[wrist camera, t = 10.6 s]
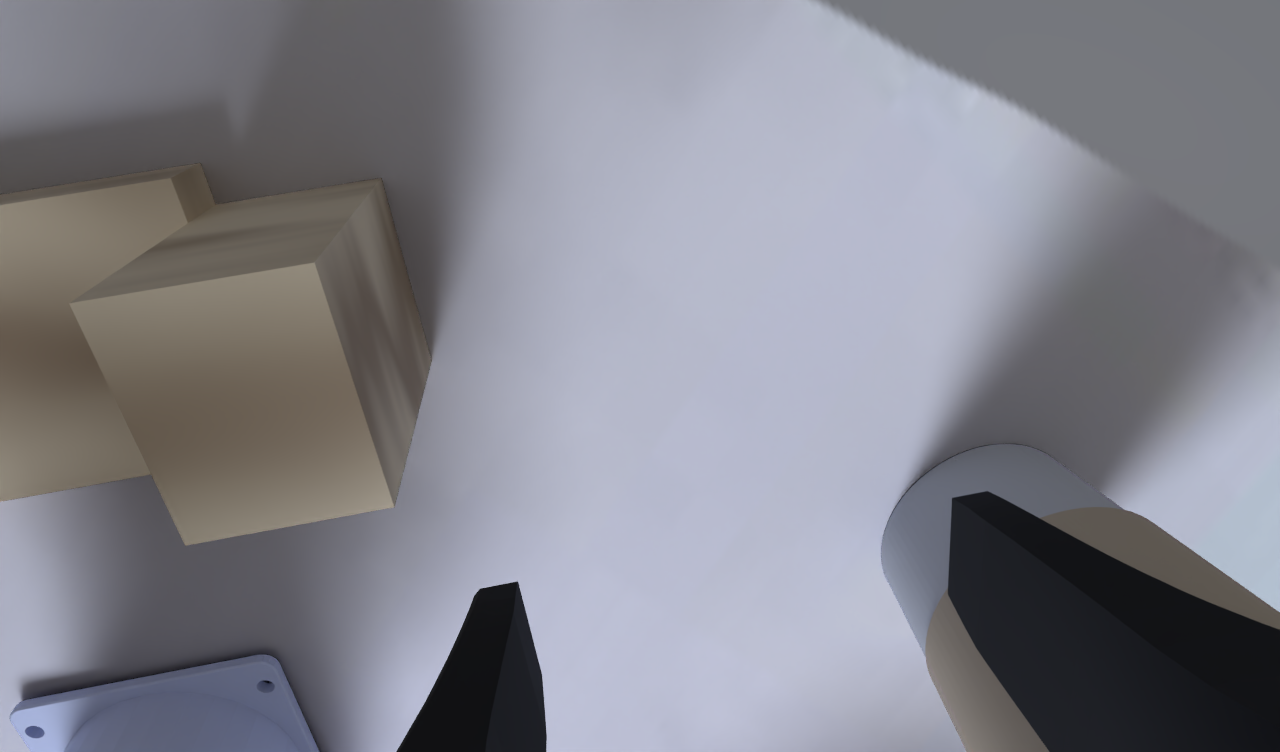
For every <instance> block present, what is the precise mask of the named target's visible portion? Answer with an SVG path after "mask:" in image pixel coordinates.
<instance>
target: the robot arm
mask: <svg viewBox="0 0 1280 752" xmlns="http://www.w3.org/2000/svg"><path fill="white" fill-rule="evenodd" d="M948 596H949V598H950V600H951V602H952V604H953V606H954V608H955V609H956V611H957V613H958V615H959V617H960V619H961V621H962V623H963V625H964V627H965V629H966V630H967V632H968V634H969V636H970V638H971V640H972V641H973V643H974V645H975V647H976V649H977V650H978V652H979V653H980V654H981V656H982V657H983V659H984V660H985V662H986V663H987V665H988V666H989V667H990V669H991V670H992V672H993V673H994V675H995V676H996V677H997V679H998V680H999V682H1000V683H1001V685H1002V686H1003V687H1004V689H1005V690H1006V692H1007V693H1008V694H1009V696H1010V697H1011V699H1012V700H1013V701H1014V703H1015V704H1016V706H1017V707H1018V708H1019V710H1020V711H1021V713H1022V714H1023V715H1024V717H1025V718H1026V720H1027V721H1028V722H1029V724H1030V725H1031V727H1032V728H1033V729H1034V731H1035V732H1036V734H1037V735H1038V736H1039V738H1040V739H1041V741H1042V742H1043V743H1044V745H1045V746H1046V748H1047V749H1048V750H1049V752H1280V629H1277V628H1274V627H1271V626H1268V625H1266V624H1263V623H1260V622H1258V621H1255V620H1253V619H1250V618H1248V617H1245V616H1243V615H1240V614H1237V613H1235V612H1232V611H1230V610H1227V609H1225V608H1222V607H1220V606H1217V605H1215V604H1212V603H1210V602H1207V601H1205V600H1203V599H1200V598H1198V597H1196V596H1193V595H1191V594H1189V593H1187V592H1184V591H1182V590H1180V589H1178V588H1176V587H1173V586H1171V585H1169V584H1167V583H1165V582H1163V581H1161V580H1158V579H1156V578H1154V577H1152V576H1150V575H1148V574H1146V573H1143V572H1141V571H1139V570H1137V569H1135V568H1133V567H1131V566H1129V565H1127V564H1125V563H1123V562H1121V561H1119V560H1117V559H1115V558H1113V557H1111V556H1109V555H1107V554H1105V553H1103V552H1102V551H1100V550H1098V549H1096V548H1094V547H1092V546H1090V545H1088V544H1086V543H1084V542H1083V541H1081V540H1079V539H1077V538H1075V537H1073V536H1071V535H1069V534H1068V533H1066V532H1064V531H1062V530H1060V529H1058V528H1057V527H1055V526H1053V525H1051V524H1049V523H1047V522H1046V521H1044V520H1042V519H1040V518H1038V517H1036V516H1035V515H1033V514H1031V513H1029V512H1027V511H1025V510H1024V509H1022V508H1020V507H1018V506H1016V505H1014V504H1012V503H1011V502H1009V501H1007V500H1005V499H1003V498H1001V497H999V496H997V495H995V494H993V493H991V492H989V491H985V492H980V493H974V494H969V495H964V496H959V497H954V498H952V509H951V531H950V553H949V575H948ZM263 680H268V681H270V682H272V683H266V682H263ZM10 721H11V723H12V725H13V726H14V728H15V729H16V730H17V732H18V733H19V735H20V736H21V738H22V739H23V741H24V742H25V744H26V745H27V747H28V748H29V750H30V751H31V752H319V750H318V747H317V745H316V743H315V741H314V739H313V736H312V734H311V732H310V730H309V727H308V725H307V723H306V721H305V719H304V716H303V714H302V712H301V710H300V707H299V705H298V703H297V701H296V699H295V696H294V694H293V692H292V690H291V687H290V685H289V683H288V681H287V679H286V676H285V674H284V672H283V670H282V667H281V665H280V663H279V662H278V661H277V659H275V658H274V657H272V656H269V655H265V654H264V655H254V656H249V657H244V658H239V659H234V660H229V661H223V662H218V663H213V664H208V665H203V666H198V667H193V668H188V669H182V670H177V671H172V672H167V673H162V674H157V675H152V676H146V677H141V678H136V679H131V680H126V681H121V682H116V683H110V684H105V685H100V686H95V687H90V688H85V689H80V690H74V691H69V692H64V693H59V694H54V695H49V696H44V697H38V698H33V699H28V700H24V701H22V702H20V703H19V704H17V705H16V707H15V708H14V710H13V711H12V712H11V714H10ZM37 726H38V727H37ZM40 727H41V728H40ZM397 752H546V722H545V708H544V695H543V682H542V674H541V670H540V666H539V662H538V658H537V654H536V650H535V646H534V642H533V639H532V635H531V631H530V627H529V623H528V619H527V615H526V611H525V607H524V604H523V600H522V596H521V592H520V588H519V584H518V582H513V583H508V584H503V585H497V586H492V587H487V588H482V589H480V590H479V591H478V592H477V593H476V595H475V596H474V598H473V601H472V604H471V606H470V609H469V611H468V614H467V616H466V618H465V621H464V623H463V626H462V628H461V630H460V632H459V635H458V637H457V639H456V641H455V643H454V646H453V648H452V650H451V652H450V654H449V656H448V658H447V660H446V662H445V664H444V666H443V668H442V670H441V672H440V674H439V676H438V678H437V680H436V682H435V684H434V686H433V688H432V690H431V692H430V694H429V696H428V698H427V700H426V702H425V703H424V705H423V707H422V709H421V710H420V712H419V714H418V716H417V717H416V719H415V721H414V723H413V724H412V726H411V728H410V729H409V731H408V733H407V735H406V736H405V738H404V740H403V742H402V743H401V745H400V747H399V748H398V750H397Z"/></svg>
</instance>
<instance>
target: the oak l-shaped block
mask: <svg viewBox="0 0 1280 752" xmlns="http://www.w3.org/2000/svg"><path fill="white" fill-rule="evenodd" d="M431 362H432V360H431V357H430V353H429V349H428V346H427V342H426V338H425V335H424V331H423V328H422V324H421V320H420V317H419V313H418V309H417V306H416V302H415V298H414V295H413V291H412V287H411V284H410V280H409V277H408V273H407V269H406V266H405V262H404V258H403V255H402V251H401V247H400V244H399V240H398V237H397V233H396V229H395V226H394V222H393V218H392V215H391V211H390V207H389V204H388V200H387V196H386V193H385V189H384V186H383V182H382V178H377V179H371V180H364V181H358V182H352V183H346V184H340V185H333V186H327V187H321V188H315V189H309V190H302V191H296V192H290V193H284V194H278V195H271V196H265V197H259V198H253V199H246V200H240V201H234V202H228V203H222V204H215V201H214V199H213V196H212V193H211V190H210V188H209V185H208V182H207V180H206V177H205V174H204V172H203V169H202V166H201V163H196V164H190V165H184V166H177V167H171V168H165V169H158V170H152V171H146V172H139V173H133V174H127V175H120V176H114V177H108V178H101V179H95V180H89V181H82V182H76V183H70V184H63V185H57V186H51V187H44V188H38V189H32V190H25V191H19V192H13V193H6V194H0V502H1V501H7V500H12V499H18V498H24V497H29V496H35V495H40V494H46V493H52V492H57V491H63V490H68V489H74V488H79V487H85V486H91V485H96V484H102V483H107V482H113V481H118V480H124V479H130V478H135V477H141V476H146V475H151V476H152V478H153V480H154V482H155V484H156V486H157V488H158V490H159V492H160V494H161V496H162V499H163V501H164V503H165V505H166V507H167V509H168V511H169V513H170V515H171V517H172V519H173V522H174V524H175V526H176V528H177V530H178V532H179V534H180V536H181V538H182V540H183V542H184V544H185V546H188V545H193V544H199V543H204V542H209V541H215V540H220V539H226V538H231V537H236V536H242V535H247V534H253V533H258V532H263V531H269V530H274V529H280V528H285V527H291V526H296V525H301V524H307V523H312V522H318V521H323V520H328V519H334V518H339V517H345V516H350V515H355V514H361V513H366V512H372V511H377V510H383V509H388V508H393V507H395V503H396V499H397V495H398V491H399V487H400V483H401V479H402V475H403V472H404V468H405V464H406V460H407V456H408V452H409V448H410V444H411V440H412V436H413V432H414V428H415V424H416V421H417V417H418V413H419V409H420V405H421V401H422V397H423V393H424V389H425V385H426V381H427V377H428V373H429V370H430V366H431Z"/></svg>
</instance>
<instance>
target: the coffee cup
mask: <svg viewBox="0 0 1280 752" xmlns="http://www.w3.org/2000/svg"><path fill="white" fill-rule="evenodd" d="M985 491H989V492H991V493H993V494H995V495H997V496H999V497H1001V498H1003V499H1005V500H1007V501H1009V502H1011V503H1012V504H1014V505H1016V506H1018V507H1020V508H1022V509H1024V510H1025V511H1027V512H1029V513H1031V514H1033V515H1035V516H1036V517H1038V518H1040V519H1042V520H1044V521H1046V522H1047V523H1049V524H1051V525H1053V526H1055V527H1057V528H1058V529H1060V530H1062V531H1064V532H1066V533H1068V534H1069V535H1071V536H1073V537H1075V538H1077V539H1079V540H1081V541H1083V542H1084V543H1086V544H1088V545H1090V546H1092V547H1094V548H1096V549H1098V550H1100V551H1102V552H1103V553H1105V554H1107V555H1109V556H1111V557H1113V558H1115V559H1117V560H1119V561H1121V562H1123V563H1125V564H1127V565H1129V566H1131V567H1133V568H1135V569H1137V570H1139V571H1141V572H1143V573H1146V574H1148V575H1150V576H1152V577H1154V578H1156V579H1158V580H1161V581H1163V582H1165V583H1167V584H1169V585H1171V586H1173V587H1176V588H1178V589H1180V590H1182V591H1184V592H1187V593H1189V594H1191V595H1193V596H1196V597H1198V598H1200V599H1203V600H1205V601H1207V602H1210V603H1212V604H1215V605H1217V606H1220V607H1222V608H1225V609H1227V610H1230V611H1232V612H1235V613H1237V614H1240V615H1243V616H1245V617H1248V618H1250V619H1253V620H1255V621H1258V622H1260V623H1263V624H1266V625H1268V626H1271V627H1274V628H1277V629H1280V612H1278V611H1277V610H1275V609H1274V608H1272V607H1271V606H1270V605H1268V604H1267V603H1265V602H1264V601H1263V600H1261V599H1260V598H1258V597H1257V596H1256V595H1254V594H1253V593H1251V592H1250V591H1249V590H1247V589H1246V588H1244V587H1243V586H1241V585H1240V584H1239V583H1237V582H1236V581H1234V580H1233V579H1232V578H1230V577H1229V576H1227V575H1226V574H1225V573H1223V572H1222V571H1220V570H1219V569H1218V568H1216V567H1215V566H1213V565H1212V564H1210V563H1209V562H1208V561H1206V560H1205V559H1203V558H1202V557H1201V556H1199V555H1198V554H1196V553H1195V552H1194V551H1192V550H1191V549H1189V548H1188V547H1187V546H1185V545H1184V544H1182V543H1181V542H1179V541H1178V540H1177V539H1175V538H1174V537H1172V536H1171V535H1170V534H1168V533H1167V532H1165V531H1164V530H1163V529H1161V528H1160V527H1158V526H1157V525H1155V524H1154V523H1153V522H1151V521H1150V520H1148V519H1146V518H1144V517H1142V516H1140V515H1138V514H1135V513H1133V512H1130V511H1126V510H1124V509H1123V508H1121V507H1120V506H1119V505H1117V504H1116V503H1114V502H1113V501H1112V500H1110V499H1109V498H1107V497H1106V496H1105V495H1103V494H1102V493H1101V492H1099V491H1098V490H1096V489H1095V488H1094V487H1092V486H1091V485H1089V484H1088V483H1087V482H1085V481H1084V480H1083V479H1081V478H1080V477H1078V476H1077V475H1076V474H1074V473H1073V472H1071V471H1070V470H1069V469H1067V468H1066V467H1065V466H1063V465H1062V464H1060V463H1059V462H1058V461H1056V460H1055V459H1053V458H1052V457H1051V456H1049V455H1048V454H1046V453H1044V452H1042V451H1040V450H1038V449H1035V448H1032V447H1028V446H1024V445H1017V444H995V445H988V446H983V447H978V448H975V449H971V450H968V451H966V452H963V453H960V454H958V455H956V456H954V457H952V458H950V459H948V460H946V461H944V462H942V463H941V464H939V465H938V466H936V467H935V468H933V469H932V470H930V471H929V472H928V473H926V474H925V475H924V476H923V477H921V478H920V479H919V480H918V481H917V482H916V483H915V484H914V485H913V486H912V487H911V488H910V489H909V490H908V491H907V492H906V494H905V495H904V496H903V497H902V499H901V500H900V502H899V503H898V504H897V506H896V508H895V509H894V511H893V513H892V515H891V517H890V519H889V521H888V523H887V526H886V529H885V532H884V536H883V540H882V547H881V561H882V567H883V571H884V574H885V577H886V579H887V581H888V583H889V585H890V587H891V589H892V591H893V593H894V595H895V597H896V599H897V601H898V603H899V605H900V607H901V609H902V611H903V613H904V615H905V617H906V619H907V621H908V623H909V625H910V627H911V629H912V631H913V633H914V635H915V637H916V639H917V641H918V643H919V645H920V647H921V649H922V651H923V653H924V655H925V657H926V663H927V668H928V671H929V674H930V676H931V679H932V681H933V683H934V685H935V687H936V689H937V691H938V693H939V695H940V697H941V699H942V701H943V703H944V706H945V708H946V710H947V712H948V714H949V716H950V718H951V720H952V722H953V724H954V726H955V728H956V730H957V732H958V734H959V737H960V739H961V741H962V743H963V745H964V747H965V749H966V751H967V752H1049V750H1048V749H1047V748H1046V746H1045V745H1044V743H1043V742H1042V741H1041V739H1040V738H1039V736H1038V735H1037V734H1036V732H1035V731H1034V729H1033V728H1032V727H1031V725H1030V724H1029V722H1028V721H1027V720H1026V718H1025V717H1024V715H1023V714H1022V713H1021V711H1020V710H1019V708H1018V707H1017V706H1016V704H1015V703H1014V701H1013V700H1012V699H1011V697H1010V696H1009V694H1008V693H1007V692H1006V690H1005V689H1004V687H1003V686H1002V685H1001V683H1000V682H999V680H998V679H997V677H996V676H995V675H994V673H993V672H992V670H991V669H990V667H989V666H988V665H987V663H986V662H985V660H984V659H983V657H982V656H981V654H980V653H979V652H978V650H977V649H976V647H975V645H974V643H973V641H972V640H971V638H970V636H969V634H968V632H967V630H966V629H965V627H964V625H963V623H962V621H961V619H960V617H959V615H958V613H957V611H956V609H955V608H954V606H953V604H952V602H951V600H950V598H949V596H948V575H949V553H950V531H951V509H952V498H954V497H959V496H964V495H969V494H974V493H980V492H985Z"/></svg>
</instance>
